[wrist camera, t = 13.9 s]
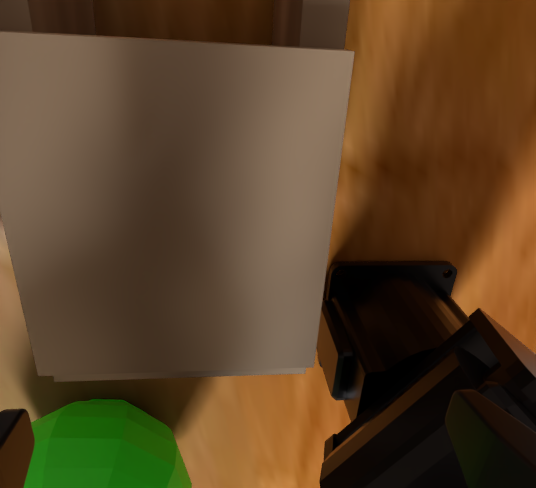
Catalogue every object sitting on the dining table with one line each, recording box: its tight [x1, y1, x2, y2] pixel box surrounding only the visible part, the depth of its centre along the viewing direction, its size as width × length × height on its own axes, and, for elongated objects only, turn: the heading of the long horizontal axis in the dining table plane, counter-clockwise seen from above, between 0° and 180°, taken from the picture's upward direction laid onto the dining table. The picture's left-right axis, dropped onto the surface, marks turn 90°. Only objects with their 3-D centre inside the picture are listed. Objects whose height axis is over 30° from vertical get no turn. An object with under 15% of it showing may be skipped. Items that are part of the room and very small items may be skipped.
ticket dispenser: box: [0, 0, 355, 382], centre depth 15 cm, size 9×14×7 cm, turn 176°
